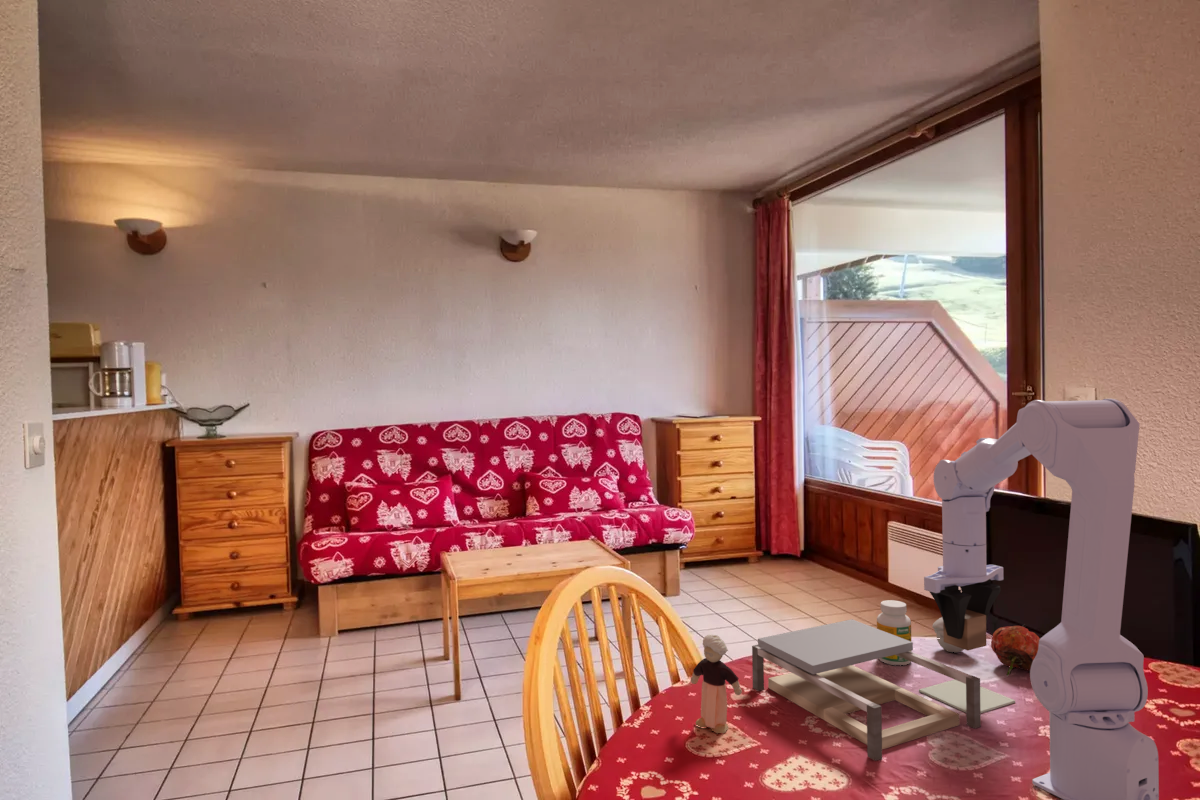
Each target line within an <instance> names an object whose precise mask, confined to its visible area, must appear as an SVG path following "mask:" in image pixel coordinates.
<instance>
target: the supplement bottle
mask: <svg viewBox="0 0 1200 800" xmlns="http://www.w3.org/2000/svg"><path fill="white" fill-rule="evenodd" d="M907 609H908V608H907V603H905V602H904V601H900V600H894V599H890V600H889V599H887V600H882V601H881V602H880V612H881V613H878V615H877V616H876V629H879V630H882V631H884V632H887V633H890V634H892V635H895V636H898V637H900V638H903V639H905V640H908V641H911V642H912V621H911V620H912V619H910V617H909V616H908V615H907V612H908V611H907ZM911 652H913V650H912V651H911ZM878 660H879V661H880V662H882V663H883V662H884V664H886V665H891V666H896V665H900V666H901V665H903V666H907V664H908V665H909V664H911V663H912V662H911V661H909V660H906V659H904V658H901V657H899V656H896V655H891V656H887V657H883V658H879V659H878ZM900 666H899V667H900ZM901 667H902V666H901Z"/></svg>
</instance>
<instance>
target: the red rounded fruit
mask: <svg viewBox="0 0 1200 800" xmlns="http://www.w3.org/2000/svg"><path fill="white" fill-rule="evenodd" d="M1026 627H1027V626H1026V624H1025V623H1024V624H1022V625H1013V626H1010V625H1007V626H1003V627H1002V626H1001V627H999V628H997V629H996V630H995V631H994V632H993V634H992V637H991V643H990V648H991V649H992V652H993V653H994V654H995V655H996V657H997V660H998V661H999V662H1000V663H1001V664H1003V665H1004V666H1006V667H1009V666H1010V667H1009V668H1008V670H1007V673H1006V676H1007V677H1009V675H1010V674H1011V671H1012V670H1013V669H1014V668H1015V667H1016V669H1021V670H1024V671H1029V672H1030V669H1031V665H1032V662H1033V660H1034V658H1035V657H1036V655H1037V652H1038V646H1039V640H1040V638H1041V637H1039V636H1038V635H1037V634H1036V633H1035V632H1033V631H1029V629H1028V628H1026Z"/></svg>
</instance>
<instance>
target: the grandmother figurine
mask: <svg viewBox="0 0 1200 800" xmlns="http://www.w3.org/2000/svg"><path fill="white" fill-rule="evenodd" d="M702 646H703V654H704V657H705V658H703V659H701V660H700V661H699V662H698V663H697V664H696V666H695V667H694V668H693V672H692V676H691V678H690V682H691V684H692V685H697V684H698V682H699V679H700V677H701V676H702V678H703V679H702V682H701V703H700V704H701V705H700V718H698V719H697V720H696V721H695V723H696V725H698V726H700V727H707V726H708V728H710V729H712V730H711V732H712V731H714V732H716V733H715V734H718V733H723V734H725V733H726V732H727V731H726V730H728V729H729V725H728V723H727V717H728V716H727V713H728V697H727V687H726V684H727V683H728V684H729V685H730V686H731V688H732V689H733V692H734V694H735V695H737V696H740V695H742V694H743V690H742V688H741V687H740V686H741V685H740V682H739V677H738V676H737V674H736V673H735V672H734V671H733V670H732V668H730V667H729V666H727V664H725V663H724V661H722V660H721V659H722V658H723V656H724V655H725V654H726V653H727V652H729V649H728V648H727V644H726V643H725V642H724V640H722V638H721V637H720V636H719V635H718V634H717V635H716V634H707V635H705V636H704V638H703V640H702ZM726 682H727V683H726ZM727 728H728V729H727ZM714 732H713V733H714Z"/></svg>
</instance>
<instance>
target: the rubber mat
mask: <svg viewBox="0 0 1200 800" xmlns="http://www.w3.org/2000/svg"><path fill="white" fill-rule="evenodd" d="M918 692H919V693H921V694H924V695H926V696H929V697H930V698H933V699H935V700H937V701H940V702H941V703H944V704H946V705H947V706H951V707H953V708H955V709H957V710H959V711H961V712H962V713H963V712H964V713H966V684H965V683H962V682H960V681H957V680H955V679H951V680H948V681H944V682H940V683H936V684H934V685H930V686H927V687H922V688H919V689H918ZM1015 703H1016V700H1015V699H1013V698H1010V697H1008V696H1005V695H1003V694H1001V693H998V692H995V691H993V690H991V689H988V688H986V687H983V686H981V685H980V712H981V714H983V713H986V712H990V711H993V710H996V709H998V708H1002V707H1004V706H1009V705H1012V704H1015Z"/></svg>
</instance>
